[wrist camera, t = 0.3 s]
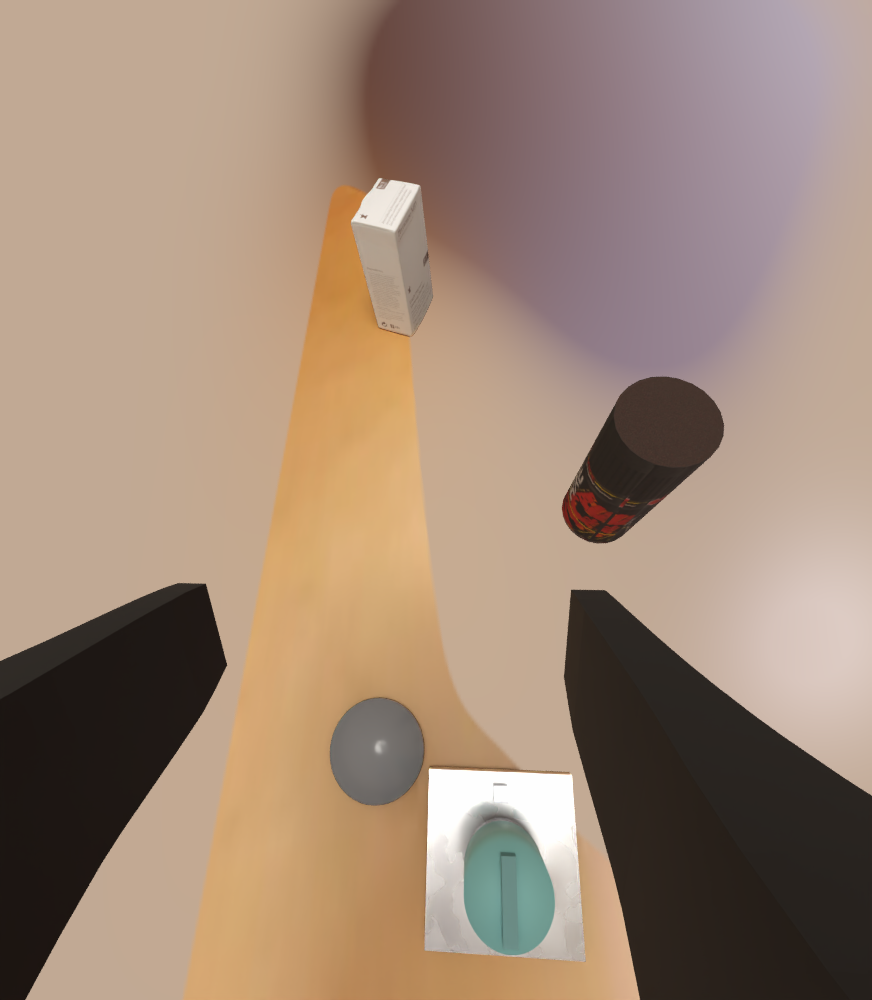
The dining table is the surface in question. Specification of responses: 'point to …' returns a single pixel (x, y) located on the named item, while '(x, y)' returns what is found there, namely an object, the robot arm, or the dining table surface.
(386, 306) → the skincare box
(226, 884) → the dining table surface
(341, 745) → the coaster
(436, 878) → the post plinth
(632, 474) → the deodorant
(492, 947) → the cap
